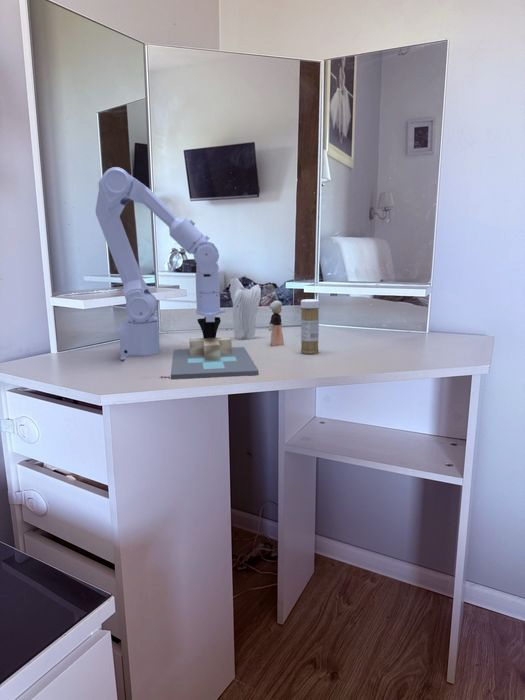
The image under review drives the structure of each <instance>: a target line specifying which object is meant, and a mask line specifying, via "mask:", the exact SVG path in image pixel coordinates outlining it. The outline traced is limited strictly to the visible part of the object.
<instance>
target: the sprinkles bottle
mask: <svg viewBox="0 0 525 700" xmlns="http://www.w3.org/2000/svg"><path fill="white" fill-rule="evenodd" d="M300 309H301V320H300V323H301V325H300V326H301V328H300V341H301V342H300V343H301V349H300V352H301V353H302V354H304V355H317V354H319V335H320V334H319V332H320V327H319V326H320V321H319V310H320V300H319V299H313V298H312V299H310V298H305V299H301V300H300Z"/></svg>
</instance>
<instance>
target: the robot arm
mask: <svg viewBox="0 0 525 700" xmlns="http://www.w3.org/2000/svg"><path fill="white" fill-rule="evenodd" d="M97 183H98V184H97V185H98V192H97V193H98V194H97V198H96V205H95V215H96V218H97V221H98V223H99V226H100V228H101V231H102V234H103V236H104V239H105V242H106V244H107V246H108V249H109V252H110V254H111V255H110V256H112V259H113V262H114V265H115V268H116V270H117V273H118V275H119V278H120V281H121V282H122V285H123V296H124V298H125V312H126V314H127V315H128V318H127V321H120V322H119V325H118V335H119V339H118V340H119V352H120V361H124V360H125V361H126V358H127V357H129V356H131V357H133V356H135V357H136V356H138V357H140V356H141V357H142V356H143V357H144V356H153V355H158V354H159V353H160V351H161V349H160V333H159V332H160V331H159V330H160V329H159V318H158V317H157V316H156V315H155V313H156V312H157V310H158V305H159V303H158V299H157V298H156V297H155V295H153V294H152V292H151V291H150V288H149V286H148V284H147V283H146V281H145V280H144V278H143V275H142V272H141V269H140V267H139V265H138V261H137V260H136V256H135V254H134V251H133V248H132V246H131V243H130V241H129V238H128V236H127V233H126V230H125V228H124V225H123V222H122V220H121V215H122V213H123V211H124V209H125V207H126V205H127V204H128V203H130V202H131V201H133V202H135V203H139V204H143V206H145V207H146V208H147V209H149V211H151V212H152V213H153V214H154V215H155V216H156V217H157V218H158V219H159V220H160V221H162V222H163V223H164V224H165V225H166V226H167V227H168V229H169V236H170V237H171V238H172V240H174V241H175V242H176V243H177V244H178V245H179V246H180V247H182V248H183V250H184V251H185V252H186V253H188V254H189V255H193V259H194V262H195V263H196V265H195V266H196V269H195V270H196V273H195V288H196V289H195V291H196V293H195V295H196V311H195V313H196V315H199V316H202V317H203V318H197V323H198V325H199V327H200V329H201V332H202V338H217V332H218V328H219V327H220V323H221V322H222V321H221V317H218V315H220V314H225V313H226V310H225V309H221V294H220V293H221V292H220V291H221V290H220V288H221V287H220V285H221V284H220V272H219V270H220V269H219V268H220V267H219V264H218V261H219V260H220V259H219V258H220V254H219V253H220V252H219V249H218V247H216V245H215V244H214V243H213V242H210V241H209V240H210V237H209V236H208V235H205V234H203V233H202V232H201V230H199V229H198V228H197V227H196V226H195V225H196V222H194V220H192V219H190V220H189V219H188V218H187V217H178V216H177V215H175V213H174V212H173V211H172V210H171V209H170V208H169V207H168V206H167V205H166V204H165V203H164V201H162V200H161V199H160V198H159V197H158V196H157V195H156V194H155V193H154V192H153V191H152V190H151V189H150V188H149V187H147V186H146V184H144V183H142V182H141V181H140V180H138V179H137V178H135V177H133V175H132V174H130V173H129V172H127V171H126V170H125V169H123V168H121V167H118V166H114V167H111V168H108V169H107V170H106V171H104V173H103V175H101V178H100V180H99V181H98V182H97Z"/></svg>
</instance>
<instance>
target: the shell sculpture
mask: <svg viewBox="0 0 525 700" xmlns="http://www.w3.org/2000/svg"><path fill="white" fill-rule="evenodd" d="M229 285H230V286H229V293H230V299H231V302H232V314H233V315H232V317H233V320H232V321H233V334H234V335H233V336H234V339H237V340H252V339H255V338H256V322H257V313H258V310H259V306H260V302H261V301H260V300H261V292H262V290H261V287H260V284H259V283H258V284H255V285H253V286H251V287H250V288H245V286H243V284H242V282H240V280H239V279H238V277H235V278H231V279H230V280H229Z"/></svg>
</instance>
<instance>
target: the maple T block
mask: <svg viewBox="0 0 525 700" xmlns="http://www.w3.org/2000/svg"><path fill="white" fill-rule="evenodd" d="M232 346H233V345H232V338H231V336H228V337H227V336H225V337H216V338H203V337H201V338H199V337H198V338H189V349H190V356H193V355H204V358H205V361H213V360H220V354H232Z"/></svg>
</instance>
